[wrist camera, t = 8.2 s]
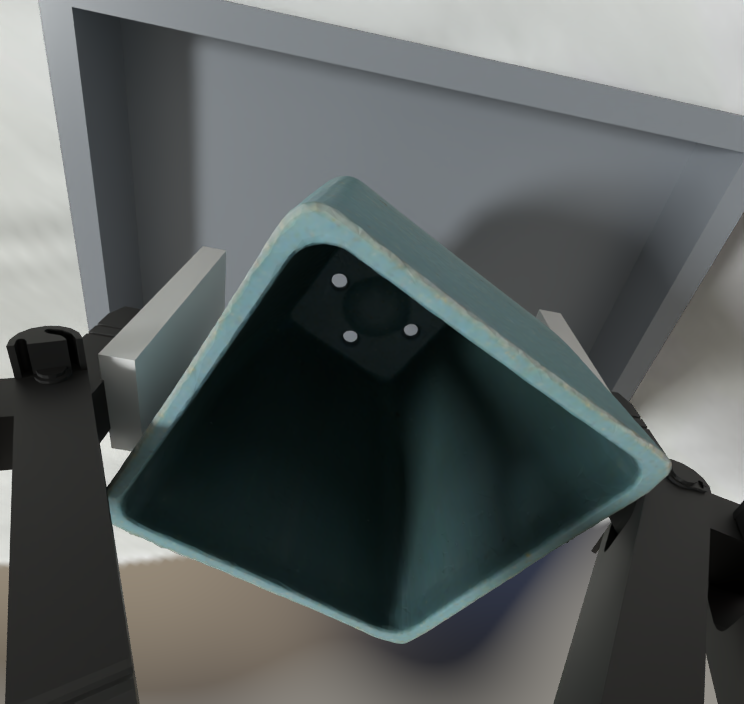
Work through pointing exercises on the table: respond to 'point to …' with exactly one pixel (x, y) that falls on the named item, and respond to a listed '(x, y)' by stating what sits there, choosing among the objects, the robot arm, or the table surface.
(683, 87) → the table surface
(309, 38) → the tray
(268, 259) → the flower pot
